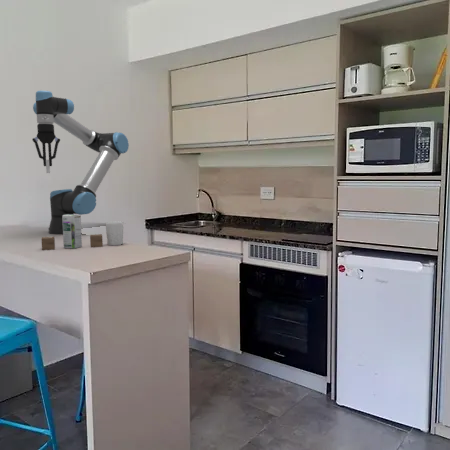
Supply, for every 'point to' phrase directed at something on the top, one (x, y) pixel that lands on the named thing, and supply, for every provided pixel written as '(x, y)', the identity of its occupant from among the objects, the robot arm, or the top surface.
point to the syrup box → (72, 231)
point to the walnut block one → (96, 240)
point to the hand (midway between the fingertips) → (48, 173)
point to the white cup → (114, 233)
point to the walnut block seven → (48, 243)
